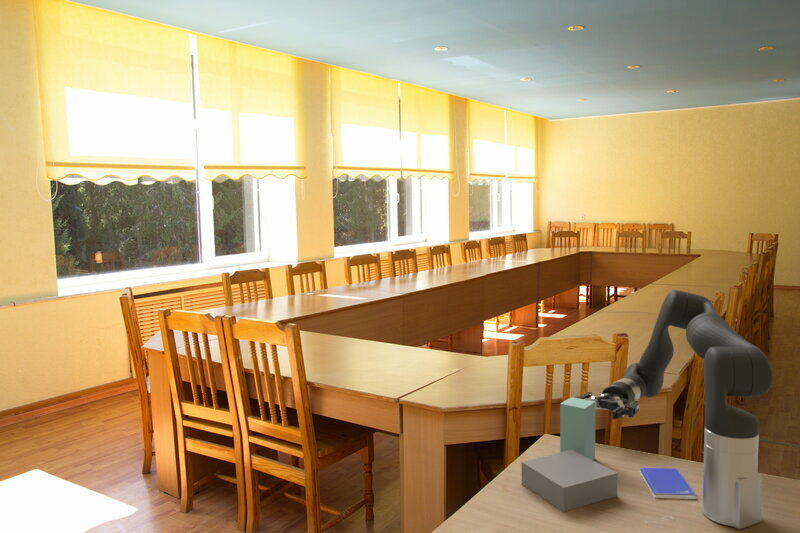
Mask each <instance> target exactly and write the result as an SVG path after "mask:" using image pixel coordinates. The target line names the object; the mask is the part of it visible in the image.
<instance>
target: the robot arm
mask: <svg viewBox="0 0 800 533" xmlns="http://www.w3.org/2000/svg"><path fill="white" fill-rule="evenodd" d="M670 326H672V327H675V328H678V329H683V330H685V337H686V340H687V343H688V345H689V346H690V347H691V349H692V351H693V352H694V353H695V354H696V355H697V356H698V357H700V358H701V359H702V360H703V382H704V383H703V384H704V389H703V390H704V430H703V431H704V433H703V435H704V437H703V440H704V441H703V464H702V465H703V469H702V472H703V473H702V474H703V476H702V477H703V478H702V513H703V515H704V516H705V517H707V518H708V519H709V520H710V521H713V522H714V523H718V524H720V525H724V526H729V527H734V528H736V529H738V530H741V529H745V528H748V527H751V526H753V525H755V524H758V523H761V522H762V502H763V500H762V498H763V474H762V473H761V472H759V470H758V469H759V468H758V466H759V465H758V464H759V444H760V443H759V442H760V440H759V439H760V438H759V437H760V421H759V418H757V416H756V415H754V414H752V412H750V411H747V410H745V409H744V410H743V409H741V408H739V407H736V406H733V405H731V404H729V403H728V402H727V397H744V398H750V397H751V398H754V397H760V396H763V395H765V394H766V393H768V392H769V391H770V389H771V387H772V385H773V381H774V380H773V379H774V373H773V369H772V366H771V363H770V361H769V359H768V357H767V355H766V354H765V353H764V352H763V351H762V349H760V348H759V347H757V346H756V345H754V344H753V343H751V342H749V341H747V340H746V339H745V338H743V336H741V335H740V334H739V333H738V332H737V331H735V330H734V328H733V327H732V326H731V325H730V323H728V322H727V321H726V320H725V319H724V318H722V317H721V315H720V314H719V313H718V312H717V310H716V308H715V306H714V304H713V303H712V302H711V300H710V299H709V298H707V297H706V296H703V295H699V294H696V293H691V292H687V291H684V290H680V289H679V290H678V289H674V290H671V291H669V293H668V294H667V295H666V296H665V298H664V299H663V302H662V304H661V307H660V309H659V312H658V315H657V318H656V320H655V324H654V327H653V331H652V332H651V337H650V338H649V341H648V344H647V346H646V347H645V349H644V351H643V353H642V354H641V356H640V358H639V361H638V362H633V363H631V364H630V365H629V366H628V367H627V369H626V370H625V372H624V375H623V377H622V378H621V379H618V380H615V381H614V382H612V383H611V384H609V385H608V386H607V387H605V388H604V389H603V390H602V392H601V394H597V395H593V393H592V391H587V392H584V393H583V394H581V395H579V396H578V398H579V399H584V400H589V401H595V411H596V410H605V411H606V410H608V411H610V412H611V414H612V415H611V416H612V417H611V418H612V420H614V421H616V420H617V419H620V418H622V417H626V416H627V417H629V418H633V417H634V416H636V414H637V413H638V412H639V410H640V406H639V405H640V402H639V400H641V398H643V397H645V398H650V399H651V398H653V397H657V395H658V394H660V392H661V390H662V387H663V384H664V378H665V371H666V369H667V367H669V364H670V363H671V360H672V359H673V357H674V344H673V341H672V338H671V336H670V333H669V327H670Z"/></svg>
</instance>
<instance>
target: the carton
mask: <svg viewBox="0 0 800 533" xmlns="http://www.w3.org/2000/svg"><path fill="white" fill-rule="evenodd" d="M559 408H560V409H559V410H560V411H559V416H560V417H559V418H560V421H559V427H560V428H559V434H560V435H559V436H560V437H559V439H560V440H559V441H560V442H559V445H560V447H559V449H560V450H559V453H560V452H564V451H568V450H574V451H576V452H578V453H580V454H582V455H584V456H586V457H588V458H590V459H591V460H593V461H595V460H596V410H595V401H589V400H584V399H579V397H573V396H570V397H569V398H567V399H566V400H563V401H562V402H560V407H559Z"/></svg>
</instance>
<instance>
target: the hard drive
mask: <svg viewBox="0 0 800 533" xmlns="http://www.w3.org/2000/svg"><path fill="white" fill-rule="evenodd" d="M639 474H640V475H641V477H642V476H643V477H642V478H643V480H644V482H645V483H646V485H647V487H648V489H649V491H650V493H651V494H652V495H653V497H654V498H655V499H681V500H683V499H685V500H697V494H696V493H695V492H694V490H693V488H692V487H691V486H690V484H689V483H688V482H687V481H686V479H685V478H684V477H683V475H682V474H681V473H680V471H679V470H678V469H677V468H667V467H666V468H664V467H663V468H662V467H661V468H660V467H640V468H639Z"/></svg>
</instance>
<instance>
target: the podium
mask: <svg viewBox="0 0 800 533" xmlns="http://www.w3.org/2000/svg"><path fill="white" fill-rule="evenodd" d="M521 485H523V486H525V487H526V488H527V489H529V490H530V491H531V492H533V493H534V494H537V495H538V497H540V498H542V499H543V500H545V501H547V502H548V503H550V504H551V505H552V506H554V507H556V508H557V509H559V511H562V512H563V513H565V512H569V511H571V510H574V509H578V508H582V507H585V506H588V505H591V504H594V503H599V502H601V501H606V500H609V499H613V498H616V497H618V472H616V471H614V470H613V469H611V468H609V467H607V466H605V465H602V464H601V463H599V462H597V461H595V460H591V459H590V458H588V457H586V456H584V455H582V454H580V453H578V452H576V451H574V450H568V451H564V452H560V451H559V452H556V453H552V454H548V455H544V456H539V457H536V458H531V459H527V460H524V461H523V460H522V461H521Z"/></svg>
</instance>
